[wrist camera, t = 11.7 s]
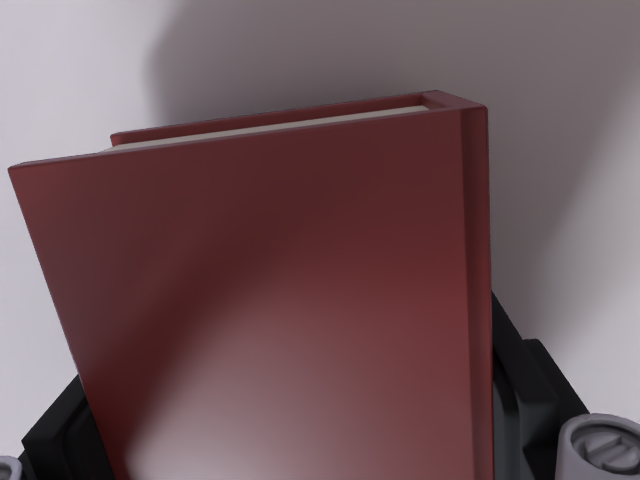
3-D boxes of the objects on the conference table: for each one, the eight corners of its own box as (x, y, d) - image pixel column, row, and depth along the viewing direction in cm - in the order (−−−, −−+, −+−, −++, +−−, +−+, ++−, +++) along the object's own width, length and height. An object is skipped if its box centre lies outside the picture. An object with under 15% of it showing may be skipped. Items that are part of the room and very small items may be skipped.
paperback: (439, 89, 9) (489, 105, 6) (460, 521, 13) (499, 677, 10) (117, 132, 10) (5, 167, 7) (224, 534, 14) (185, 685, 10)
